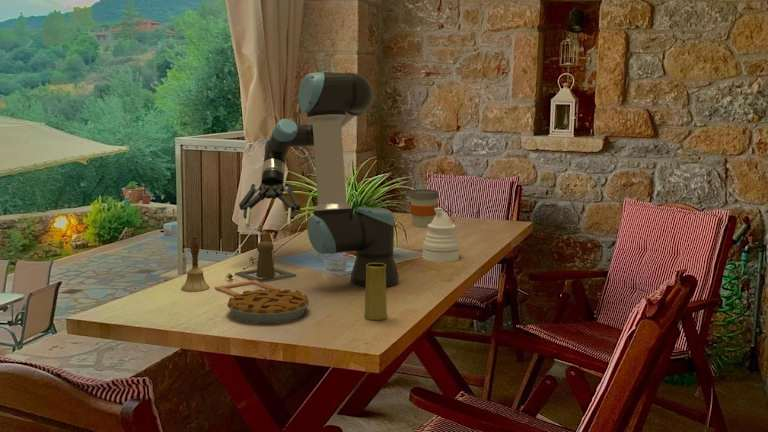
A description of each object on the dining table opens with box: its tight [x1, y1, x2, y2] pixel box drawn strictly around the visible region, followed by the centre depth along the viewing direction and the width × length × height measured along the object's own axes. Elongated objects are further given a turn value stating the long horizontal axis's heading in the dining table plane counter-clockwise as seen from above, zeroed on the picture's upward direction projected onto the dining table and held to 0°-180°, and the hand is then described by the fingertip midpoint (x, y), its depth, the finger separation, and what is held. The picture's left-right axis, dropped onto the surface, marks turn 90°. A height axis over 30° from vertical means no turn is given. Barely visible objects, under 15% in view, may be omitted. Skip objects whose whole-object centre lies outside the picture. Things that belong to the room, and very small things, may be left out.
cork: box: [255, 241, 276, 279], centre depth 257 cm, size 6×6×11 cm
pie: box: [226, 288, 310, 324], centre depth 216 cm, size 22×22×5 cm
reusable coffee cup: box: [409, 188, 440, 228], centre depth 348 cm, size 13×13×15 cm
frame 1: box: [214, 280, 281, 297], centre depth 240 cm, size 14×14×1 cm
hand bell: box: [180, 235, 210, 293], centre depth 240 cm, size 8×8×16 cm
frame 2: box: [234, 266, 297, 283], centre depth 258 cm, size 14×14×1 cm
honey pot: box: [422, 207, 460, 263], centre depth 285 cm, size 13×13×18 cm
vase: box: [364, 263, 388, 321], centre depth 213 cm, size 6×6×14 cm
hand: (267, 226), depth 265 cm, fingers open, 13 cm apart
